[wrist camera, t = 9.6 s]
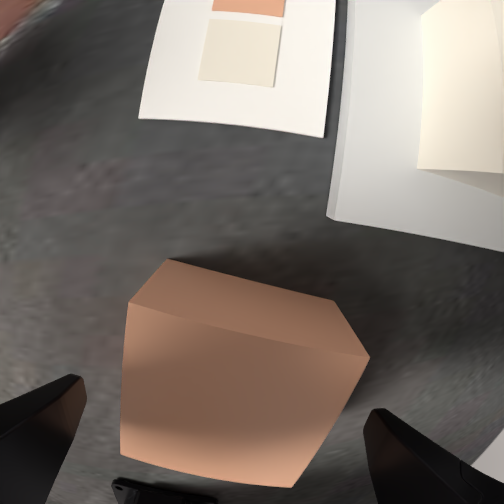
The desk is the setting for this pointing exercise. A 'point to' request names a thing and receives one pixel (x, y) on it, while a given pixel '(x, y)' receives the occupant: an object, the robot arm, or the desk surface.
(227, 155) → the desk surface
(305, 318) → the brick orange
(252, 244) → the desk surface
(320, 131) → the page
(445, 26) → the brick ivory
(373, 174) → the baseplate
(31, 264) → the desk surface
